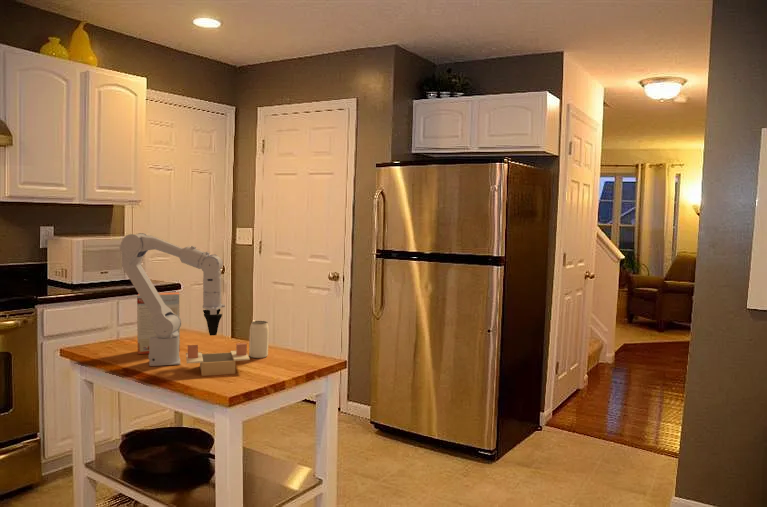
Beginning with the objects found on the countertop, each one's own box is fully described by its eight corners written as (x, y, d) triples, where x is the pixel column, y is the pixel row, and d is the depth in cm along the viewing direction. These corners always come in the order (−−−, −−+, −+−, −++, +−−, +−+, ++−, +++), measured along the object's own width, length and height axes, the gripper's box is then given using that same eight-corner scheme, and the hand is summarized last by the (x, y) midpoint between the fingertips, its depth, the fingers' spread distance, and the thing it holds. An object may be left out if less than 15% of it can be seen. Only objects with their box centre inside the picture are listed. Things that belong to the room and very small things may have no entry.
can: (251, 353, 215) (252, 320, 214) (269, 354, 215) (270, 321, 214) (246, 358, 209) (247, 323, 208) (265, 359, 209) (266, 324, 208)
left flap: (186, 363, 184) (186, 350, 184) (185, 354, 195) (186, 342, 195) (203, 362, 186) (203, 349, 186) (201, 353, 197) (201, 341, 196)
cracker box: (179, 348, 220) (179, 291, 219) (179, 352, 215) (179, 293, 213) (138, 350, 216) (138, 292, 215) (137, 354, 210) (136, 294, 209)
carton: (201, 375, 186) (201, 362, 185) (200, 366, 197) (200, 353, 197) (235, 373, 189) (235, 361, 189) (231, 364, 200) (231, 352, 200)
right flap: (233, 360, 189) (234, 348, 189) (230, 352, 200) (230, 340, 199) (249, 359, 190) (249, 347, 190) (245, 351, 201) (245, 339, 201)
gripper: (226, 294, 194) (226, 336, 195) (223, 288, 207) (223, 328, 208) (203, 295, 191) (203, 337, 192) (201, 289, 205) (202, 329, 206)
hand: (212, 332), depth 200 cm, fingers open, 7 cm apart
